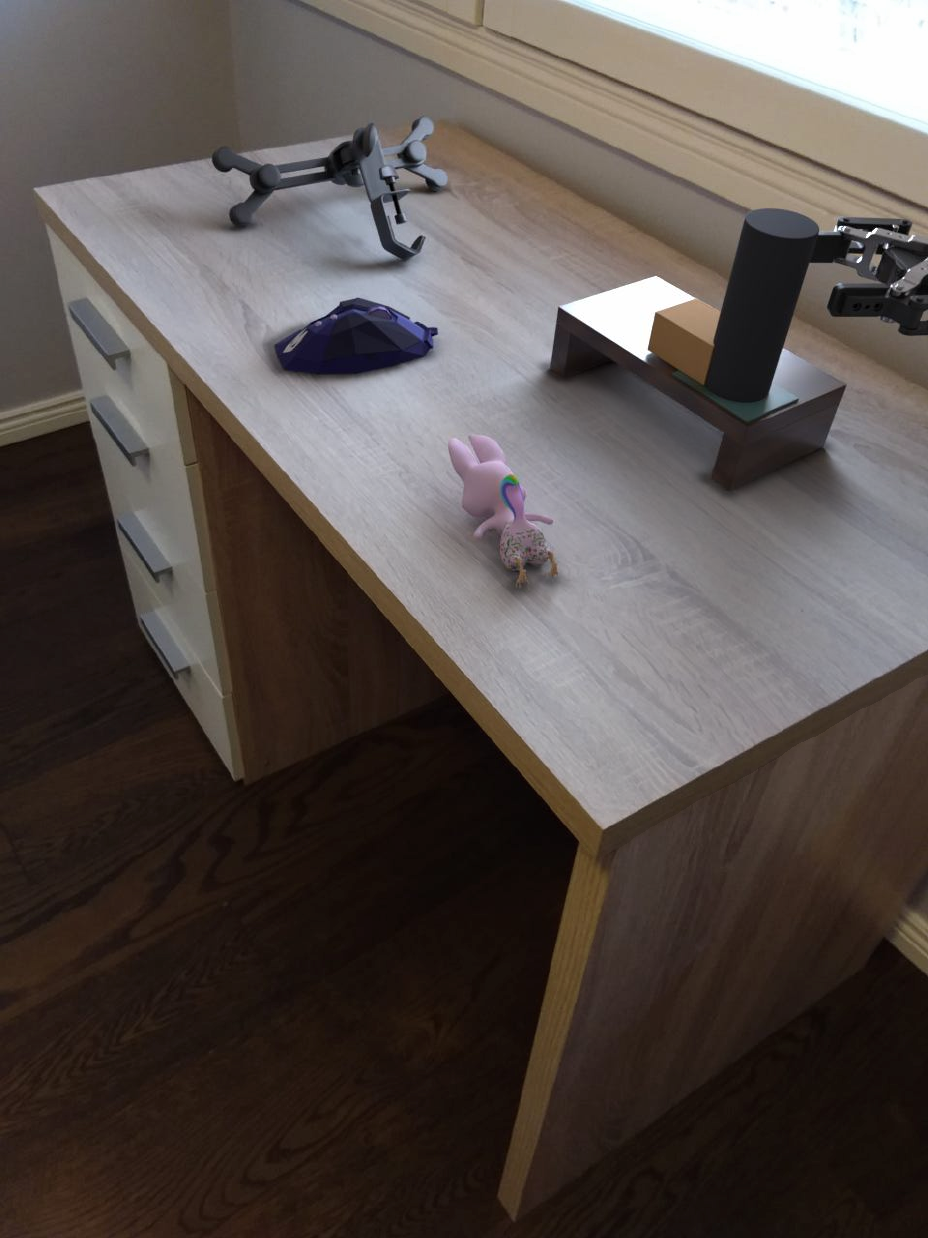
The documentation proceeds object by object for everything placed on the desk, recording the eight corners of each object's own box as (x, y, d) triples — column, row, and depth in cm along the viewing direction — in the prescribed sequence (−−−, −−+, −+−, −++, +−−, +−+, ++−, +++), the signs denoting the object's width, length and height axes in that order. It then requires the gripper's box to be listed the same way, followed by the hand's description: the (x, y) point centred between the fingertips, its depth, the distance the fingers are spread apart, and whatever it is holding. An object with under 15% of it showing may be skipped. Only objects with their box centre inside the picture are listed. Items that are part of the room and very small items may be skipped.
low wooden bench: (824, 446, 86) (848, 382, 82) (728, 491, 81) (748, 425, 76) (643, 334, 98) (656, 273, 94) (549, 367, 93) (558, 304, 89)
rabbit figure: (573, 587, 73) (495, 446, 81) (591, 532, 69) (506, 387, 77) (493, 606, 71) (421, 459, 79) (506, 550, 67) (428, 400, 75)
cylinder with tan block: (782, 390, 80) (835, 229, 71) (738, 409, 78) (786, 244, 69) (689, 334, 86) (726, 178, 77) (645, 350, 84) (678, 190, 75)
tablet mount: (464, 261, 123) (426, 117, 119) (526, 229, 111) (486, 68, 107) (257, 308, 111) (208, 151, 108) (301, 279, 99) (247, 100, 95)
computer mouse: (267, 329, 95) (264, 288, 92) (421, 314, 98) (423, 275, 96) (286, 381, 88) (283, 339, 86) (449, 363, 92) (452, 323, 89)
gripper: (988, 185, 79) (790, 182, 77) (1090, 268, 69) (866, 267, 67) (950, 277, 84) (763, 276, 82) (1040, 367, 74) (830, 368, 72)
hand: (809, 272), depth 75 cm, fingers open, 8 cm apart
